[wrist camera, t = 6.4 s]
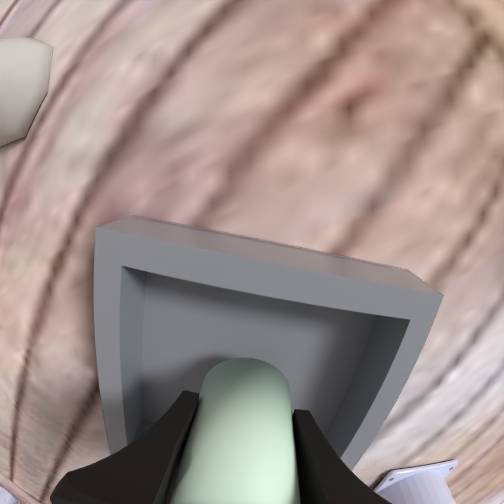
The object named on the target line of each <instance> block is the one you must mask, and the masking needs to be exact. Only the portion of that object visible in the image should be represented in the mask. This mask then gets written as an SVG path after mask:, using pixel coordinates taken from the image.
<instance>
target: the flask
mask: <svg viewBox="0 0 504 504" xmlns="http://www.w3.org/2000/svg"><path fill="white" fill-rule="evenodd" d="M52 53H53V46H51V45H48V44H46V43H43V42H41V41H38V40H36V39H33V38H31V37H26V38H10V39H1V40H0V147H1V146H3V145H5V144H8V143H10V142H13V141H15V140H18V139H20V138H23V137H25V136H26V134H27V132H28V129H29V127H30V125H31V123H32V121H33V119H34V117H35V115H36V112H37V110H38V108H39V106H40V104H41V103H42V101H43V99H44V97H45V95H46V93H47V91H48V86H49V76H50V67H51V60H52Z"/></svg>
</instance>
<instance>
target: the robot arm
mask: <svg viewBox="0 0 504 504" xmlns="http://www.w3.org/2000/svg"><path fill="white" fill-rule="evenodd" d="M198 401H199V393H196V392H191V391H187V390H184V391H182V392H181V394H180V396H179V397H178V398H177V400H176V401H175V402H174V404H173V405H172V406H171V407H170V408H169V409H168V411H167V412H166V413H165V414H164V415H163V416H162V417H161V418H160V419H159V420H158V421H157V422H156V423H155V424H154V425H153V426H151V427H150V428H149V429H148V430H147V431H146V432H145V433H144V434H142V435H141V436H140V437H138V438H137V439H136V440H134V441H133V442H132V443H130V444H129V445H127V446H126V447H124V448H122V449H121V450H119V451H118V452H116V453H114V454H112V455H110V456H108V457H106V458H104V459H102V460H100V461H98V462H96V463H93V464H91V465H88V466H86V467H83V468H80V469H77V470H74V471H70V472H67V473H66V475H65V476H64V477H63V478H62V479H61V480H60V482H59V483H58V484H57V486H56V487H55V489H54V491H53V493H52V495H51V496H50V501H51V503H52V504H170V500H171V496H172V493H173V489H174V485H175V481H176V478H177V474H178V470H179V467H180V463H181V459H182V456H183V452H184V449H185V445H186V441H187V438H188V434H189V431H190V428H191V425H192V422H193V418H194V415H195V412H196V408H197V404H198ZM292 419H293V429H294V438H295V449H296V459H297V470H298V481H299V492H300V503H301V504H456V503H455V501H454V499H453V497H452V495H451V492H450V490H449V488H448V486H447V484H446V482H445V480H444V479H445V478H446V477H447V476H448V475H449V473H450V472H451V471H452V470H453V469H454V468H455V467H456V465H457V464H458V461H457V460H451V461H446V462H442V463H437V464H431V465H426V466H420V467H413V468H406V469H399V470H393V471H391V472H389V473H388V474H387V475H386V476H385V478H384V479H383V480H382V481H381V482H380V483H379V485H378V486H377V487H376V488H375V489H374V490H372V489H370V488H369V487H368V486H367V485H366V484H364V483H363V482H362V481H361V480H360V479H359V478H358V477H357V476H356V475H355V474H354V473H353V472H352V471H351V470H350V469H349V468H348V467H347V466H346V465H345V463H344V462H343V461H342V460H341V459H340V457H339V456H338V455H337V453H336V452H335V451H334V449H333V448H332V446H331V445H330V443H329V442H328V441H327V439H326V438H325V436H324V434H323V433H322V431H321V430H320V428H319V426H318V425H317V423H316V421H315V419H314V418H313V416H312V414H311V412H310V411H309V410H301V409H295V410H294V412H293V415H292ZM0 504H20V503H19V502H18V501H17V499H16V498H15V497H14V496H13V495H12V494H11V493H10V492H9V491H8V490H6V489H5V488H4V487H2V486H1V485H0Z"/></svg>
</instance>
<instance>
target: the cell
mask: <svg viewBox="0 0 504 504" xmlns="http://www.w3.org/2000/svg"><path fill="white" fill-rule="evenodd" d="M170 504H301V503H300V492H299V481H298V470H297V459H296V449H295V438H294V429H293V419H292V409H291V400H290V391H289V384H288V381H287V379H286V377H285V376H284V375H283V373H282V372H281V371H280V370H279V369H277V368H276V367H275V366H273V365H271V364H270V363H267V362H265V361H262V360H259V359H254V358H234V359H229V360H226V361H223V362H221V363H219V364H217V365H215V366H214V367H213V368H212V369H210V371H209V372H208V373H207V374H206V376H205V378H204V381H203V384H202V388H201V391H200V395H199V401H198V404H197V408H196V412H195V415H194V418H193V422H192V425H191V428H190V431H189V434H188V438H187V441H186V445H185V449H184V452H183V456H182V459H181V463H180V467H179V470H178V474H177V478H176V481H175V485H174V489H173V493H172V496H171V500H170Z"/></svg>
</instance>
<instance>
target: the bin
mask: <svg viewBox="0 0 504 504" xmlns="http://www.w3.org/2000/svg"><path fill="white" fill-rule="evenodd" d="M443 296H444V295H443V294H441V293H440V292H439V291H437V290H436V289H435V288H433V287H432V286H430V285H429V284H428V283H426V282H425V281H423V280H422V279H421V278H419V277H418V276H416V275H415V274H413V273H412V272H411V271H409V270H407V269H402V268H398V267H393V266H388V265H383V264H379V263H374V262H369V261H365V260H360V259H355V258H350V257H346V256H341V255H336V254H331V253H326V252H321V251H316V250H312V249H307V248H302V247H297V246H292V245H287V244H282V243H277V242H272V241H267V240H262V239H257V238H252V237H247V236H241V235H236V234H231V233H226V232H221V231H216V230H210V229H205V228H200V227H195V226H189V225H184V224H179V223H174V222H168V221H163V220H157V219H152V218H147V217H141V216H136V215H132V216H129V217H126V218H122V219H119V220H116V221H113V222H110V223H107V224H104V225H101V226H98V227H96V234H95V251H94V330H95V347H96V360H97V370H98V380H99V388H100V396H101V403H102V410H103V416H104V422H105V428H106V433H107V439H108V444H109V448H110V453H111V455H112V454H114V453H116V452H118V451H119V450H121V449H122V448H124V447H126V446H127V445H129V444H130V443H132V442H133V441H134V440H136V439H137V438H138V437H140V436H141V435H142V434H144V433H145V432H146V431H147V430H148V429H149V428H150V427H151V426H153V425H154V424H155V423H156V422H157V421H158V420H159V419H160V418H161V417H162V416H163V415H164V414H165V413H166V412H167V411H168V409H169V408H170V407H171V406H172V405H173V404H174V402H175V401H176V400H177V398H178V397H179V396H180V394H181V392H182V391H184V390H187V391H191V392H196V393H199V395H200V391H201V388H202V384H203V381H204V378H205V376H206V374H207V373H208V372H209V371H210V369H212V368H213V367H214V366H215V365H217V364H219V363H221V362H223V361H226V360H229V359H234V358H254V359H259V360H262V361H265V362H267V363H270V364H271V365H273V366H275V367H276V368H277V369H279V370H280V371H281V372H282V373H283V375H284V376H285V377H286V379H287V381H288V384H289V391H290V400H291V409H292V415H293V412H294V410H295V409H301V410H309V411H310V412H311V414H312V416H313V418H314V419H315V421H316V423H317V425H318V426H319V428H320V430H321V431H322V433H323V434H324V436H325V438H326V439H327V441H328V442H329V443H330V445H331V446H332V448H333V449H334V451H335V452H336V453H337V455H338V456H339V457H340V459H341V460H342V461H343V462H344V463H345V465H346V466H347V467H348V468H349V469H350V470H351V471H352V470H353V468H354V467H355V466H356V464H357V463H358V461H359V460H360V458H361V457H362V456H363V454H364V453H365V451H366V450H367V448H368V447H369V445H370V444H371V442H372V441H373V439H374V438H375V436H376V434H377V433H378V431H379V430H380V428H381V426H382V425H383V423H384V421H385V420H386V418H387V416H388V415H389V413H390V411H391V409H392V408H393V406H394V404H395V402H396V401H397V399H398V397H399V395H400V393H401V391H402V389H403V388H404V386H405V384H406V382H407V380H408V378H409V376H410V374H411V372H412V370H413V368H414V366H415V364H416V361H417V359H418V357H419V355H420V353H421V351H422V348H423V346H424V344H425V342H426V339H427V337H428V335H429V332H430V330H431V327H432V325H433V322H434V320H435V317H436V315H437V312H438V309H439V307H440V304H441V301H442V298H443Z"/></svg>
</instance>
